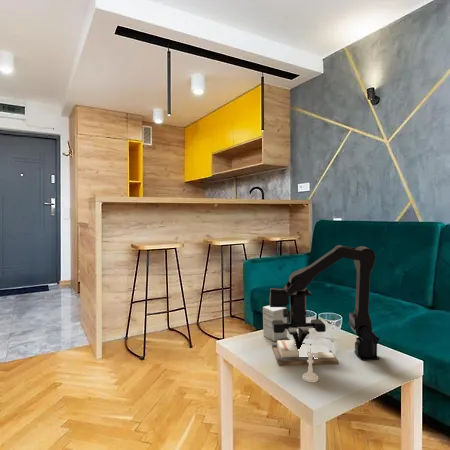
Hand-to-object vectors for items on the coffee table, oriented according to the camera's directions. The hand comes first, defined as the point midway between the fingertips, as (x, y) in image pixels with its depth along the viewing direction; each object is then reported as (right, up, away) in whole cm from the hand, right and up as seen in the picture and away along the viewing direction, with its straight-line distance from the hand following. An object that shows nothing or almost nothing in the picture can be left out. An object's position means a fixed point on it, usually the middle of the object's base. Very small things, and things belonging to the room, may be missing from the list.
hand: (298, 348), depth 122 cm
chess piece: (0, -4, -16) cm, 17 cm away
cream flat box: (-4, -1, 0) cm, 4 cm away
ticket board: (+2, -2, 0) cm, 3 cm away
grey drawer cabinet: (-6, -2, +18) cm, 19 cm away
